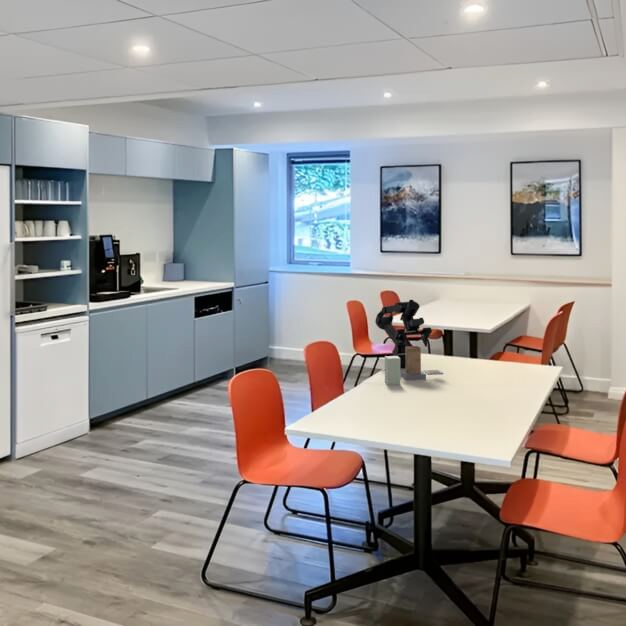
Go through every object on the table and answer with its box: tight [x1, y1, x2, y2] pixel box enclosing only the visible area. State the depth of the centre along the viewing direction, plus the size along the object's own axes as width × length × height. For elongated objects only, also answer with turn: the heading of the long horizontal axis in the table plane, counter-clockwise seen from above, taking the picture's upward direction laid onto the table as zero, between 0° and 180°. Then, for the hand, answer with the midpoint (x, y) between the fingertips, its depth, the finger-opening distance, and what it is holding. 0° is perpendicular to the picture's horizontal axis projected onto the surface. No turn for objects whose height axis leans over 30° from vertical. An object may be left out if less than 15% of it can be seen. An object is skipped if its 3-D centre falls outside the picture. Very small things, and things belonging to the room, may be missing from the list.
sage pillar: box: [384, 355, 401, 386], centre depth 351 cm, size 6×6×12 cm
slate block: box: [400, 370, 427, 381], centre depth 364 cm, size 10×10×3 cm
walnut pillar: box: [405, 345, 422, 374], centre depth 363 cm, size 6×6×12 cm
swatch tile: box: [423, 369, 444, 375], centre depth 376 cm, size 8×8×1 cm
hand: (418, 346), depth 371 cm, fingers open, 9 cm apart
